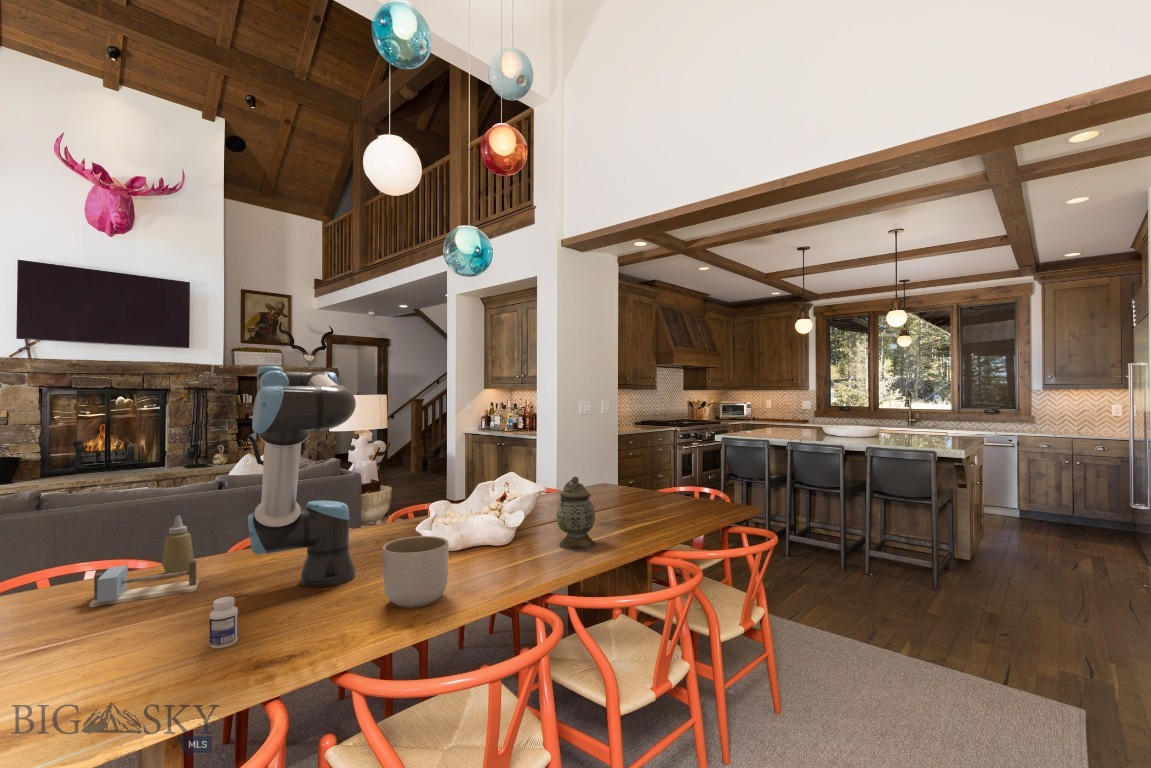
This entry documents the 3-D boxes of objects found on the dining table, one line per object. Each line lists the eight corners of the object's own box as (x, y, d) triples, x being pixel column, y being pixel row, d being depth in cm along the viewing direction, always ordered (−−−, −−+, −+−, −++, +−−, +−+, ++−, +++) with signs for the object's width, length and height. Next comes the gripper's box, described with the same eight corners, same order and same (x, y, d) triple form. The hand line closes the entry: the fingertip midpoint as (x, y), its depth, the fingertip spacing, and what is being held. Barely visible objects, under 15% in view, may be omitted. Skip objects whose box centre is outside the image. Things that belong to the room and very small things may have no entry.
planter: (388, 618, 134) (387, 556, 134) (378, 596, 149) (378, 540, 149) (456, 605, 141) (455, 547, 142) (440, 585, 157) (440, 533, 157)
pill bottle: (218, 638, 124) (218, 595, 124) (242, 637, 124) (243, 594, 124) (204, 649, 118) (204, 604, 118) (229, 648, 119) (230, 603, 119)
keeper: (127, 586, 155) (127, 565, 155) (116, 599, 145) (116, 577, 145) (109, 588, 153) (109, 567, 153) (97, 602, 143) (97, 579, 143)
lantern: (596, 550, 190) (595, 479, 191) (556, 551, 190) (555, 479, 191) (595, 540, 204) (594, 473, 205) (557, 540, 204) (557, 474, 205)
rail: (198, 582, 162) (198, 557, 162) (195, 591, 155) (195, 564, 155) (98, 597, 150) (98, 570, 151) (89, 607, 143) (89, 578, 144)
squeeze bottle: (176, 578, 166) (177, 519, 167) (155, 576, 168) (155, 518, 168) (200, 569, 174) (200, 513, 175) (179, 568, 176) (179, 512, 176)
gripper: (292, 412, 185) (292, 481, 184) (247, 413, 178) (247, 485, 178) (292, 413, 178) (292, 484, 178) (246, 414, 172) (246, 488, 171)
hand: (270, 485), depth 178 cm, fingers closed
